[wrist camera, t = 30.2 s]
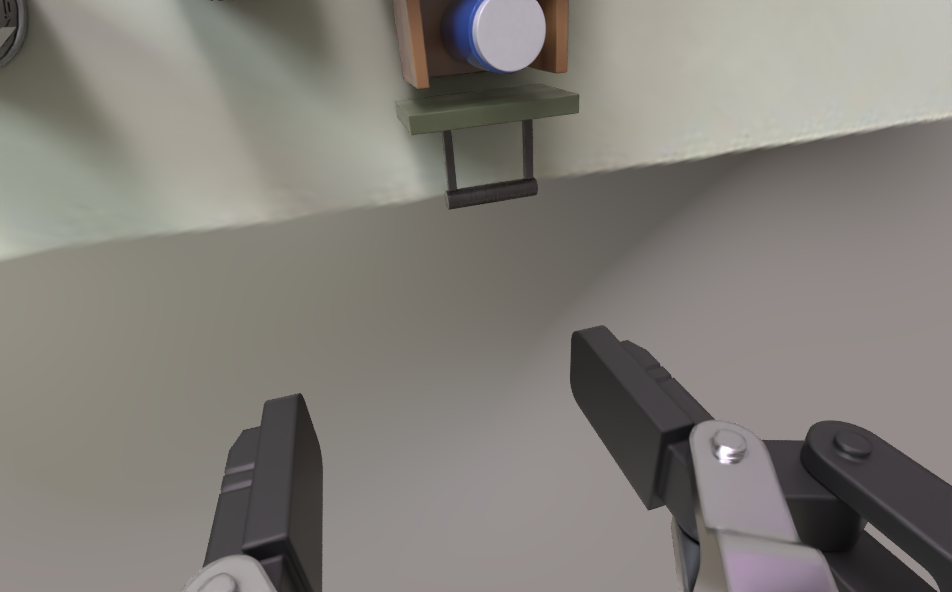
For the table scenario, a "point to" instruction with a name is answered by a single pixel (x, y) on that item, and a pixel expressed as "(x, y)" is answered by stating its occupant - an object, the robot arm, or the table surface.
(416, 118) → the drawer
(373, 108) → the table surface
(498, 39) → the pepper shaker
